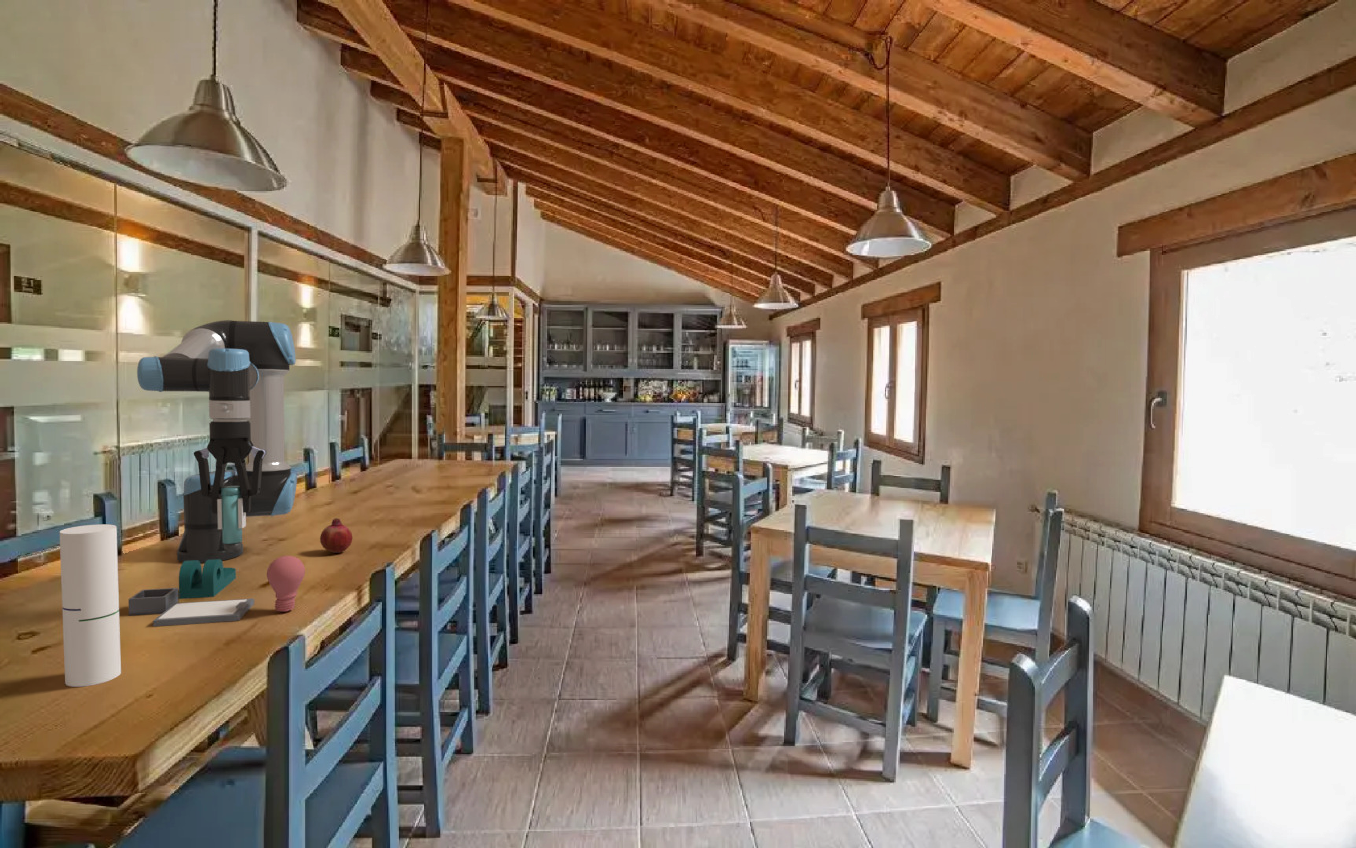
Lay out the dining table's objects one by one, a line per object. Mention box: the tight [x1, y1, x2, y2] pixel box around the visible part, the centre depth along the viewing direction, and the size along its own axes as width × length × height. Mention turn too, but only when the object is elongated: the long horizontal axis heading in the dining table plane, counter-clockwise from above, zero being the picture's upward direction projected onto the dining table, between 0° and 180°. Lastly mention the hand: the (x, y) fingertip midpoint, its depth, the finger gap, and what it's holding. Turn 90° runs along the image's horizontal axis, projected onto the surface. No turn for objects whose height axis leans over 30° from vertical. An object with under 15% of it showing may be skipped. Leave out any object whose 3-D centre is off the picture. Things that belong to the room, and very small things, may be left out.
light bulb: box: [266, 555, 306, 613], centre depth 150 cm, size 7×7×12 cm
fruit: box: [319, 518, 353, 554], centre depth 199 cm, size 8×8×10 cm
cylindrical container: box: [59, 523, 122, 688], centre depth 116 cm, size 7×7×25 cm
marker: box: [221, 486, 243, 552], centre depth 153 cm, size 4×4×14 cm
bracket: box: [178, 559, 237, 600], centre depth 166 cm, size 18×7×8 cm, turn 16°
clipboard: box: [152, 598, 255, 627], centre depth 147 cm, size 11×15×2 cm
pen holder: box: [128, 587, 179, 617], centre depth 150 cm, size 7×7×4 cm
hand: (232, 527), depth 153 cm, fingers closed on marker, 3 cm apart
